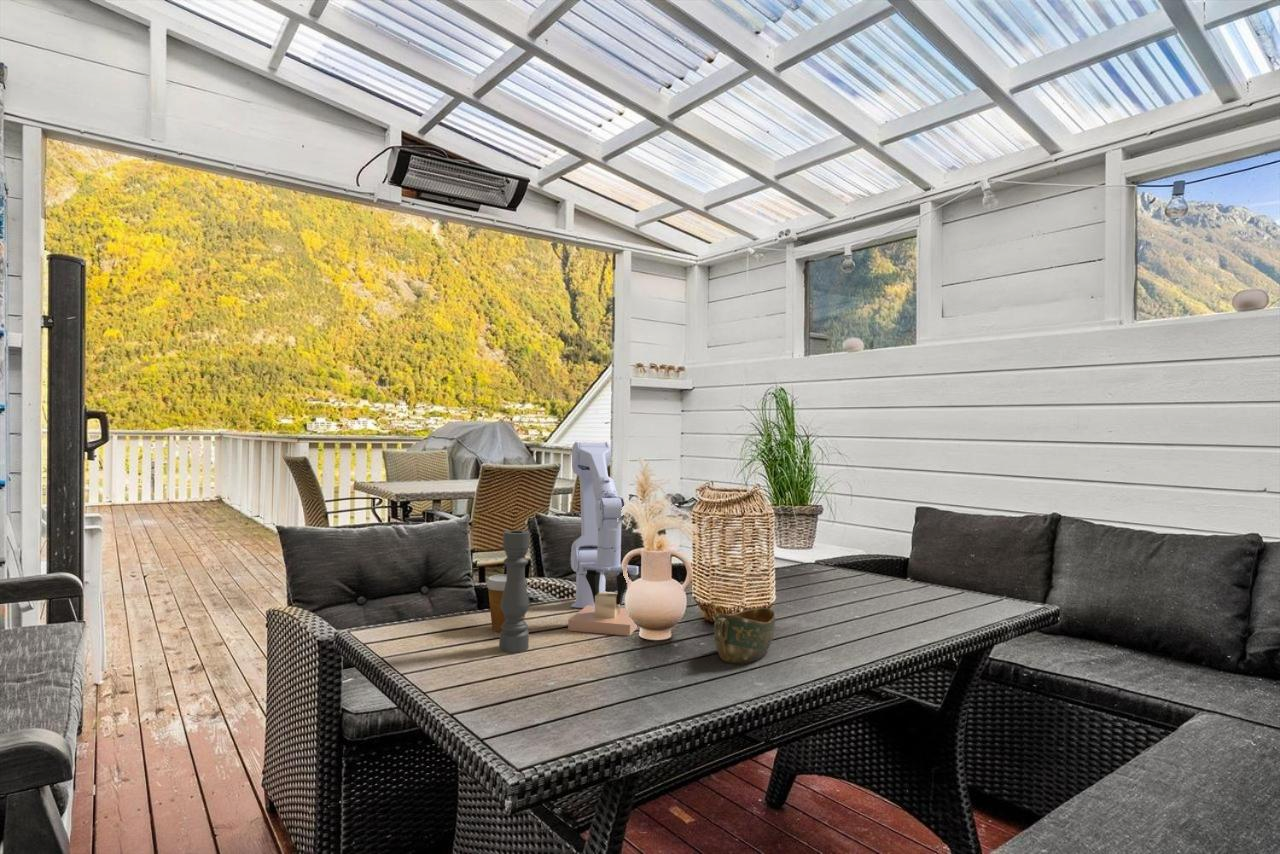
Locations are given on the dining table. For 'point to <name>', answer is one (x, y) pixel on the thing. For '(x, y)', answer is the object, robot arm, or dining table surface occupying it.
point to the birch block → (606, 605)
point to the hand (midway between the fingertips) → (607, 602)
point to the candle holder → (515, 593)
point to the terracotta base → (601, 622)
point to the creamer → (744, 635)
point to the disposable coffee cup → (496, 599)
